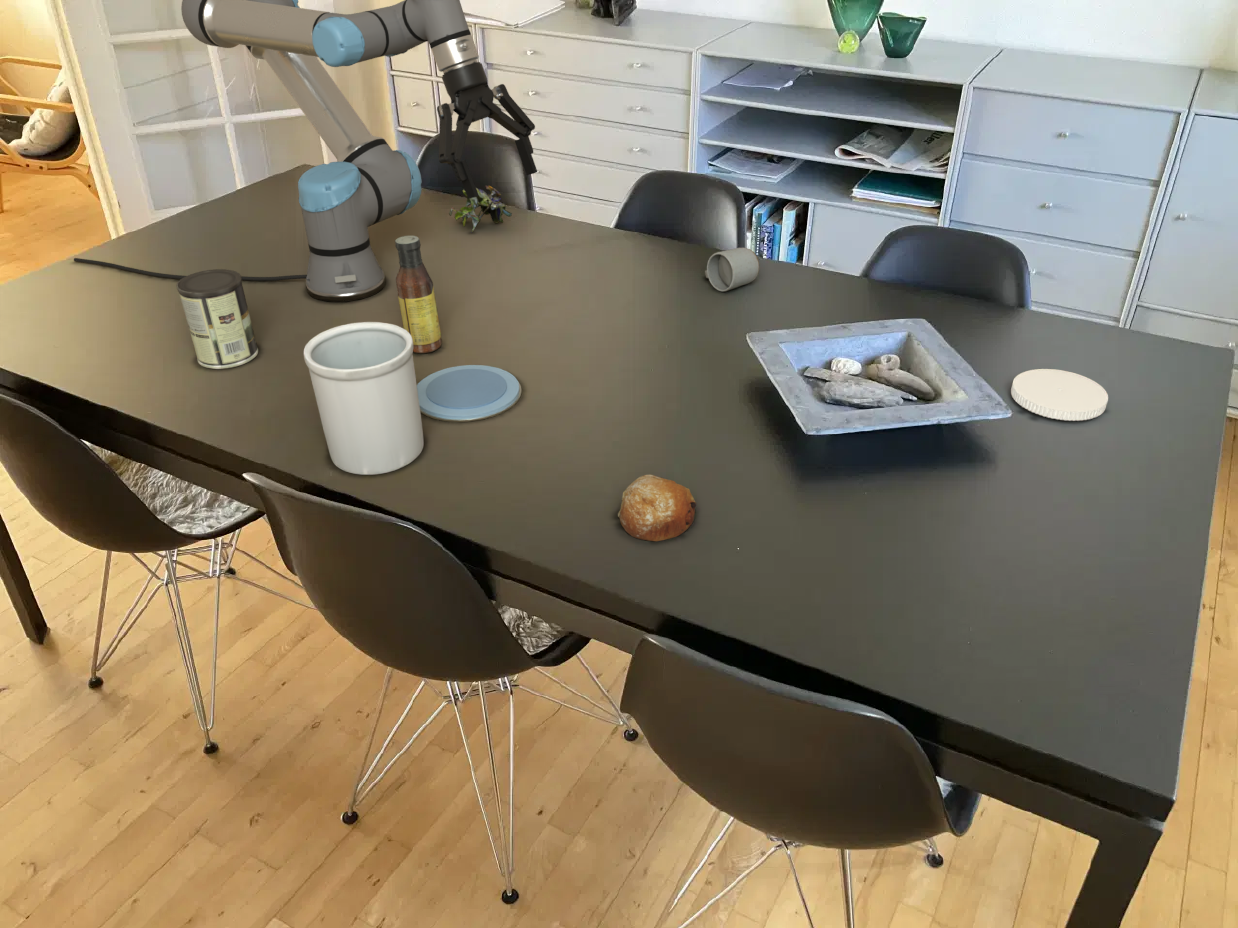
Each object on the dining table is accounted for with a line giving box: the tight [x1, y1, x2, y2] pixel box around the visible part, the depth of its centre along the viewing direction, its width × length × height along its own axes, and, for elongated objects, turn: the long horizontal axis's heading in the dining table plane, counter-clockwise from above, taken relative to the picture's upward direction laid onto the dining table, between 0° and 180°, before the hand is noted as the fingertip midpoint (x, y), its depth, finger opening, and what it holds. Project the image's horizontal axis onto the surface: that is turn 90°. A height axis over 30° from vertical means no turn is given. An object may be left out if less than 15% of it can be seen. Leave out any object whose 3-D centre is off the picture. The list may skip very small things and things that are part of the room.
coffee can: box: [175, 268, 259, 370], centre depth 169 cm, size 10×10×14 cm
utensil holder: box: [303, 321, 425, 476], centre depth 142 cm, size 15×15×18 cm
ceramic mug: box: [704, 247, 760, 293], centre depth 196 cm, size 11×8×8 cm
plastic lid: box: [1010, 368, 1109, 422], centre depth 156 cm, size 14×14×2 cm
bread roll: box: [617, 473, 697, 542], centre depth 130 cm, size 10×10×8 cm
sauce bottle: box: [394, 235, 442, 354], centre depth 170 cm, size 6×6×20 cm
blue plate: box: [417, 364, 523, 423], centre depth 160 cm, size 18×18×1 cm
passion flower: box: [448, 185, 513, 234], centre depth 224 cm, size 11×11×12 cm
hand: (503, 185), depth 182 cm, fingers open, 13 cm apart
